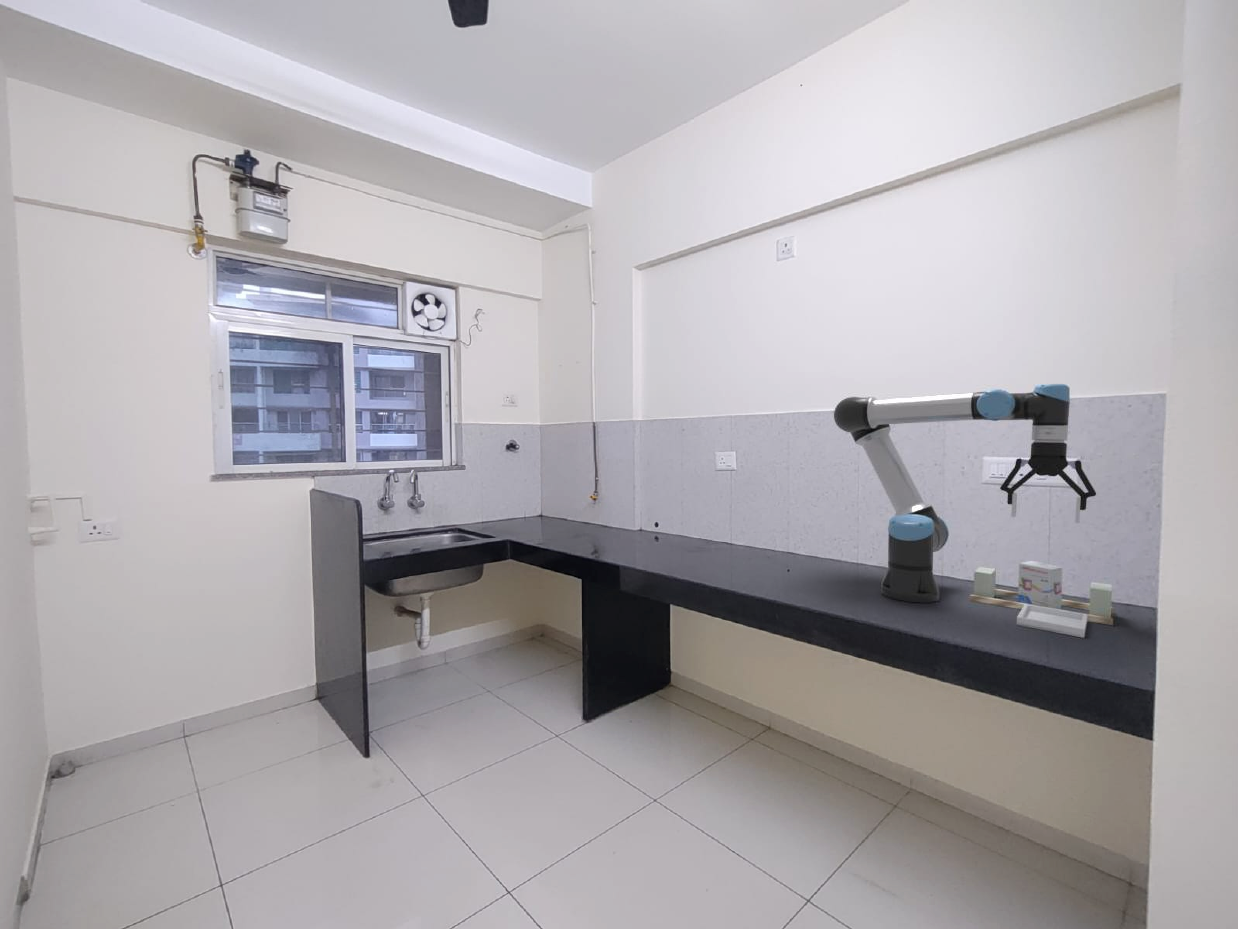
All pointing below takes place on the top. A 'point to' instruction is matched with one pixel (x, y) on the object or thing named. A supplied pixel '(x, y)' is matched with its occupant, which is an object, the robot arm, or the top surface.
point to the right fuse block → (1100, 599)
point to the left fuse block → (985, 582)
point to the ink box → (1040, 584)
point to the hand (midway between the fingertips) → (1044, 519)
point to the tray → (1053, 620)
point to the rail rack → (1020, 605)
